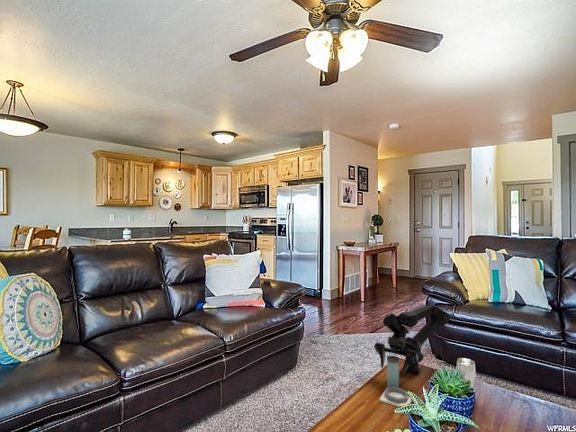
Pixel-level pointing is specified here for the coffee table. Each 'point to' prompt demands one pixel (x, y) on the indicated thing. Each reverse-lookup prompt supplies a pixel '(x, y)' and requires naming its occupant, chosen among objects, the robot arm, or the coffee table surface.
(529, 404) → the coffee table surface
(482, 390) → the coffee table surface
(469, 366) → the beer glass
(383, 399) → the mount plate
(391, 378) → the teal cylinder
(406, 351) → the robot arm
